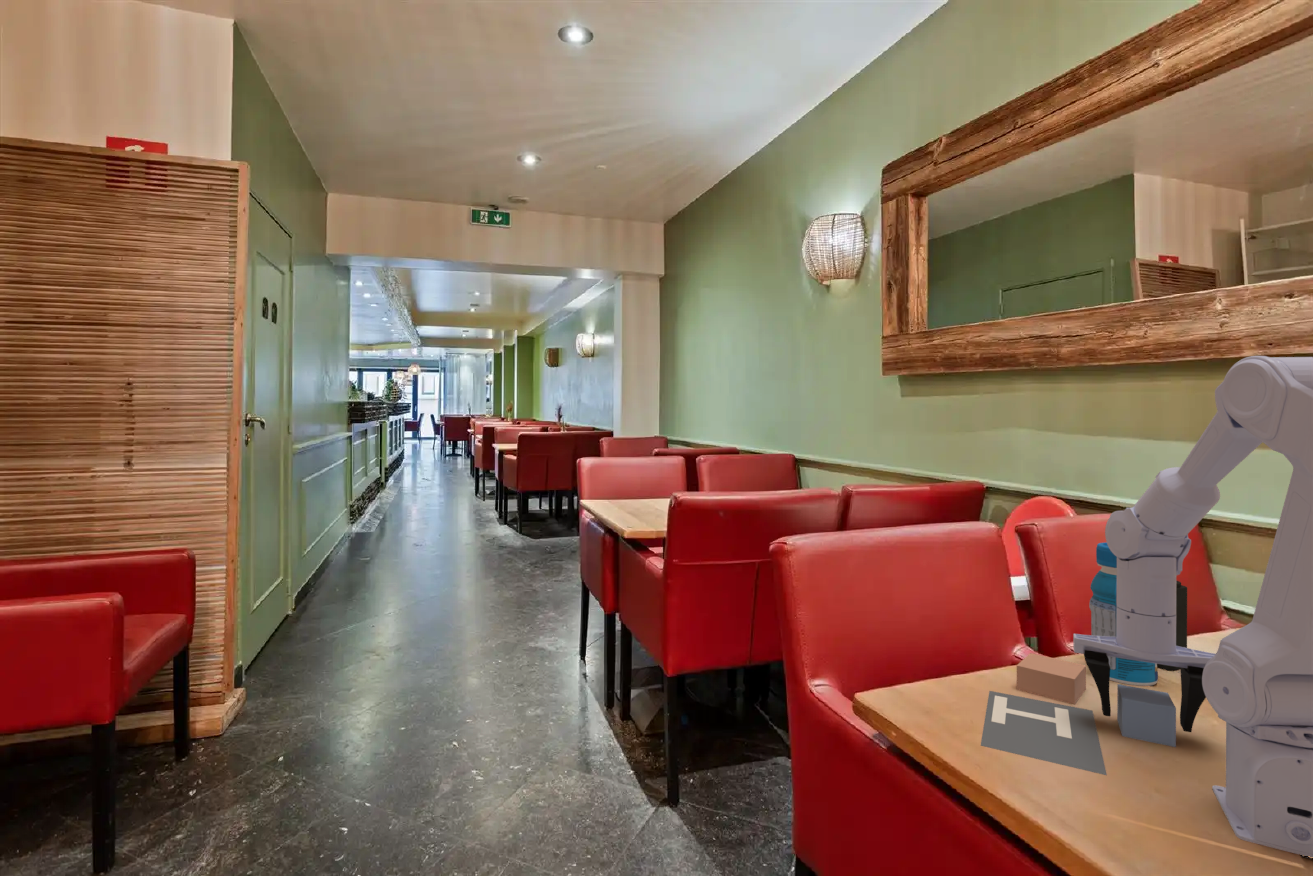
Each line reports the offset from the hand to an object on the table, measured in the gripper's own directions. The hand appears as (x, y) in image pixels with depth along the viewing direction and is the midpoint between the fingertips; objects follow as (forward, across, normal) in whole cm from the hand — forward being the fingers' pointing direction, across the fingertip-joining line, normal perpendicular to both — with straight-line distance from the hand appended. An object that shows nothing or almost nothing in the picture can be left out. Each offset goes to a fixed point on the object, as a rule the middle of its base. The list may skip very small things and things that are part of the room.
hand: (1144, 720), depth 75 cm
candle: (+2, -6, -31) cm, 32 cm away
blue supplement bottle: (+2, 0, -21) cm, 21 cm away
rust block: (+2, +9, -9) cm, 13 cm away
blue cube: (+2, 0, 0) cm, 2 cm away
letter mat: (+2, +11, +5) cm, 12 cm away
